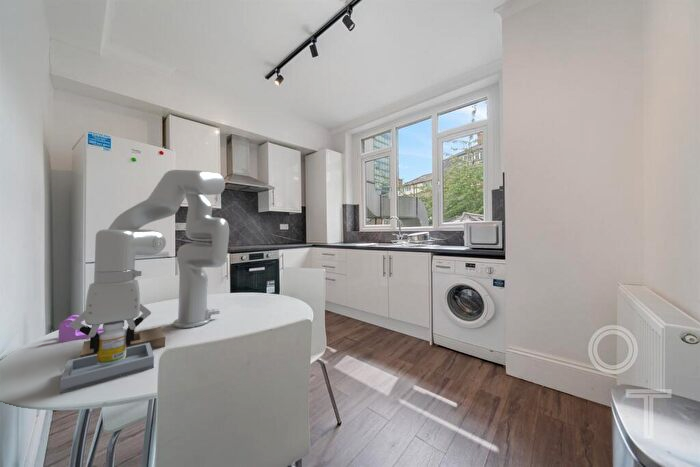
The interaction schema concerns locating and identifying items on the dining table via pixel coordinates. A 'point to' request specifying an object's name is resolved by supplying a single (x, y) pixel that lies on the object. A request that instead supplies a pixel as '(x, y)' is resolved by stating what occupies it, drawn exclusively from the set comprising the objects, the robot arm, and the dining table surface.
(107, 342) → the supplement bottle
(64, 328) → the bracket
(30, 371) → the dining table surface
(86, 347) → the socket holder
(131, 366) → the parts tray
